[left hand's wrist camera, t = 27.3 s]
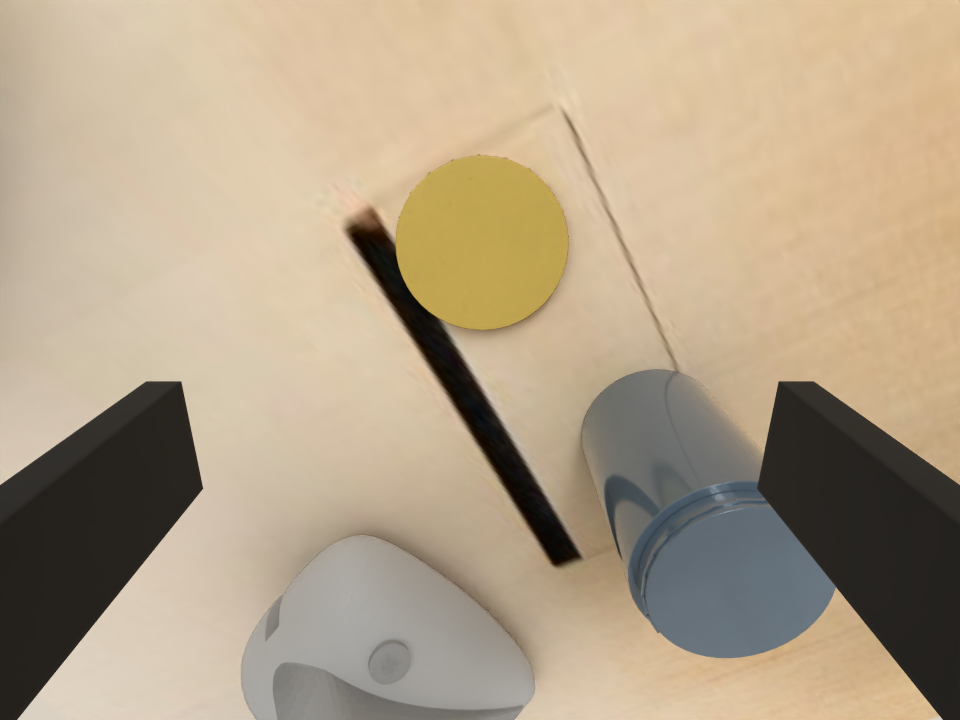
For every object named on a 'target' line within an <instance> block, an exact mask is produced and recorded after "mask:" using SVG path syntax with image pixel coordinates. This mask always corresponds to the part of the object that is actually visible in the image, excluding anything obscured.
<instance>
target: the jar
mask: <svg viewBox="0 0 960 720" xmlns="http://www.w3.org/2000/svg"><path fill="white" fill-rule="evenodd" d="M581 441H582V448H583V452H584V455H585V458H586V461H587V464H588V467H589V470H590V473H591V476H592V479H593V482H594V485H595V488H596V491H597V494H598V497H599V500H600V503H601V506H602V509H603V512H604V515H605V518H606V521H607V524H608V527H609V530H610V533H611V536H612V539H613V542H614V544H615V547H616V550H617V553H618V556H619V559H620V562H621V565H622V568H623V571H624V574H625V577H626V580H627V583H628V586H629V589H630V592H631V595H632V598H633V600H634V602H635V604H636V605H637V607H638V609H639V610H640V611H641V612H642V614H643V615H644V616H645V617H646V618H647V619H648V620H649V621H650V622H651V624H652V625H653V627H654V628H655V630H656V631H657V633H659V632H660V633H661V634H662V635H663V636H664V637H665V638H667V639H668V640H669V641H670V642H672V643H673V644H675V645H676V646H678V647H680V648H682V649H684V650H686V651H689V652H692V653H695V654H698V655H703V656H707V657H715V658H738V657H745V656H751V655H756V654H759V653H763V652H766V651H769V650H772V649H775V648H777V647H779V646H781V645H783V644H785V643H787V642H789V641H791V640H792V639H794V638H796V637H797V636H799V635H800V634H801V633H803V632H804V631H805V630H807V629H808V628H809V627H810V626H811V625H812V624H813V623H814V622H815V621H816V620H817V619H818V618H819V617H820V615H821V614H822V613H823V612H824V610H825V609H826V607H827V606H828V604H829V602H830V600H831V598H832V596H833V593H834V590H835V587H836V586H835V585H834V584H833V583H832V581H831V580H830V579H829V578H828V576H827V575H826V574H825V573H824V571H823V570H822V569H821V568H820V566H819V565H818V564H817V563H816V561H815V560H814V559H813V558H812V556H811V555H810V554H809V553H808V551H807V550H806V549H805V548H804V546H803V545H802V544H801V543H800V542H799V540H798V539H797V538H796V537H795V535H794V534H793V533H792V532H791V530H790V529H789V528H788V527H787V525H786V524H785V523H784V522H783V520H782V519H781V518H780V517H779V515H778V514H777V513H776V512H775V510H774V509H773V508H772V507H771V506H770V504H769V503H768V502H767V501H766V499H765V498H764V497H763V496H762V494H761V493H760V492H759V491H758V489H757V486H758V481H759V476H760V471H761V466H762V461H763V457H764V451H763V450H762V449H761V448H760V447H759V446H758V445H757V444H756V443H755V442H754V441H753V440H752V438H751V437H750V436H749V435H748V434H747V433H746V432H745V431H744V430H743V429H742V428H741V427H740V425H739V424H738V423H737V422H736V421H735V420H734V419H733V418H732V417H731V416H730V415H729V414H728V412H727V411H726V410H725V409H724V408H723V407H722V406H721V405H720V404H719V403H718V402H717V401H716V399H715V398H714V397H713V396H712V395H711V394H710V393H709V392H708V391H707V390H706V389H705V388H704V387H703V386H702V385H701V384H700V383H699V382H697V381H696V380H694V379H692V378H691V377H689V376H686V375H684V374H681V373H678V372H675V371H668V370H646V371H641V372H637V373H634V374H631V375H628V376H626V377H623V378H621V379H619V380H618V381H616V382H614V383H613V384H611V385H610V386H609V387H607V388H606V389H605V390H604V391H603V392H602V393H601V394H600V395H599V396H598V397H597V398H596V399H595V401H594V402H593V403H592V405H591V406H590V408H589V410H588V412H587V414H586V416H585V419H584V422H583V426H582V434H581Z"/></svg>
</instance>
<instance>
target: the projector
mask: <svg viewBox="0 0 960 720" xmlns="http://www.w3.org/2000/svg"><path fill="white" fill-rule="evenodd" d="M241 684H242V691H243V694H244V698H245V701H246V703H247V705H248V707H249V710H250V711H251V713H252V714H253V715H254V717H255V718H256V719H257V720H514V719H515V718H516V717H517V716H518V714H519V713H520V712H521V711H522V709H523V708H524V707H525V706H526V705H527V704H528V702H529V701H530V700H531V698H532V697H533V695H534V692H535V678H534V673H533V669H532V666H531V664H530V662H529V660H528V659H527V657H526V655H525V654H524V653H523V651H522V650H521V649H520V647H519V646H518V645H517V643H516V642H515V641H514V640H513V639H512V638H511V636H510V635H509V634H508V633H507V632H506V631H505V630H504V629H503V627H502V626H501V625H500V624H499V623H498V622H497V621H496V620H495V619H494V618H493V617H492V616H491V615H490V614H489V613H488V612H487V611H486V610H485V609H484V608H482V607H481V606H480V605H479V604H478V603H477V602H476V601H475V600H473V599H472V598H471V597H470V596H469V595H467V594H466V593H465V592H464V591H462V590H461V589H460V588H459V587H457V586H456V585H455V584H453V583H452V582H451V581H449V580H448V579H447V578H445V577H444V576H443V575H441V574H440V573H438V572H437V571H436V570H434V569H433V568H431V567H430V566H428V565H427V564H425V563H424V562H422V561H421V560H419V559H418V558H416V557H415V556H413V555H411V554H410V553H408V552H406V551H404V550H403V549H401V548H399V547H397V546H395V545H393V544H391V543H389V542H387V541H385V540H382V539H380V538H377V537H373V536H369V535H354V536H350V537H346V538H344V539H341V540H339V541H337V542H335V543H333V544H331V545H330V546H328V547H327V548H326V549H324V550H323V551H322V552H321V553H320V554H319V555H317V556H316V557H315V558H314V559H313V560H312V561H311V562H310V563H309V564H308V565H307V566H306V567H305V568H304V569H303V570H302V571H301V572H300V574H299V575H298V576H297V577H296V578H295V579H294V580H293V581H292V583H291V584H290V585H289V586H288V588H287V589H286V591H285V593H284V594H283V595H282V596H281V597H279V598H278V599H277V600H276V601H275V602H274V604H273V605H272V606H271V607H270V608H269V610H268V611H267V612H266V613H265V615H264V616H263V617H262V619H261V620H260V622H259V623H258V624H257V626H256V628H255V629H254V631H253V632H252V634H251V636H250V638H249V641H248V643H247V645H246V648H245V651H244V654H243V658H242V663H241Z"/></svg>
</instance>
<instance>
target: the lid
mask: <svg viewBox="0 0 960 720" xmlns="http://www.w3.org/2000/svg"><path fill="white" fill-rule="evenodd" d="M568 238H569V236H568V231H567V225H566V221H565V217H564V214H563V210H562V209H561V206H560V204H559V203H558V201H557V199H556V197H555V195H554V194H553V193H552V191H551V190H550V187H549V186H547V185H546V184H545V183H544V182H543V181H542V180H541V179H540V178H539V177H538V176H536V175H535V174H534V173H533V172H531V169H529V168H528V169H527V168H525V167H523V166H521V165H520V164H517V163H515V162H513V161H510V160H508V159H506V157H504V158H500V157H494V156H480V154H478V156H470V157H464V158H460V159H457V160H454V159H452V160H451V162H449V163H447V164H445V165H443V166H441V167H439V168H438V169H436V170H435V171H433V172H432V173H431V172H429V173H428V176H427V177H425V178H424V179H423V180H422V181H421V182H420V183H419V184H418V185H417V187H416V188H415V189H414V190H413V191H412V192H410V196H409V198H408V199H407V201H406V203H405V205H404V207H403V209H402V212H401V215H400V216H399V221H398V226H397V231H396V242H395V244H396V255H397V260H398V265H399V269H400V271H401V274H402V277H403V279H404V281H405V283H406V285H407V287H408V289H409V290H410V291H411V293H412V294H413V296H414V297H415V298H416V299H417V301H418V302H419V303H420V304H421V305H422V306H423V307H424V308H425V309H427V310H428V311H429V312H430V313H432V314H433V315H435V316H436V317H438V318H439V319H441V320H443V321H445V322H447V323H450V324H452V325H455V326H458V327H462V328H467V329H475V330H490V329H497V328H502V327H505V326H509V325H512V324H514V323H516V322H519V321H521V320H523V319H524V318H526V317H528V316H530V315H531V314H532V313H534V312H535V311H536V310H537V309H539V308H540V307H541V306H542V305H543V304H544V303H545V302H546V301H547V299H548V298H549V297H550V296H551V294H552V293H553V292H554V290H555V288H556V287H557V285H558V283H559V281H560V279H561V277H562V274H563V272H564V268H565V265H566V261H567V255H568Z"/></svg>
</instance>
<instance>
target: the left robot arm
mask: <svg viewBox="0 0 960 720" xmlns="http://www.w3.org/2000/svg"><path fill="white" fill-rule="evenodd" d="M202 489H203V486H202V481H201V476H200V471H199V466H198V461H197V457H196V452H195V447H194V442H193V437H192V432H191V427H190V422H189V417H188V413H187V408H186V403H185V398H184V393H183V388H182V383H181V382H145V383H143V384H142V385H141V386H139V387H138V388H136V389H135V390H134V391H132V392H131V393H129V394H128V395H127V396H125V397H124V398H122V399H121V400H120V401H118V402H117V403H115V404H114V405H112V406H111V407H110V408H108V409H107V410H105V411H104V412H103V413H101V414H100V415H98V416H97V417H96V418H94V419H93V420H91V421H90V422H89V423H87V424H86V425H84V426H83V427H81V428H80V429H79V430H77V431H76V432H74V433H73V434H72V435H70V436H69V437H67V438H66V439H65V440H63V441H62V442H60V443H59V444H58V445H56V446H55V447H53V448H52V449H51V450H49V451H48V452H46V453H45V454H43V455H42V456H41V457H39V458H38V459H36V460H35V461H34V462H32V463H31V464H29V465H28V466H27V467H25V468H24V469H22V470H21V471H20V472H18V473H17V474H15V475H14V476H12V477H11V478H10V479H8V480H7V481H5V482H4V483H3V484H1V485H0V720H17V719H18V718H19V717H20V715H21V714H22V713H23V712H24V710H25V709H26V708H27V707H28V705H29V704H30V703H31V702H32V701H33V699H34V698H35V697H36V696H37V694H38V693H39V692H40V691H41V689H42V688H43V687H44V686H45V684H46V683H47V682H48V681H49V679H50V678H51V677H52V676H53V674H54V673H55V672H56V671H57V669H58V668H59V667H60V666H61V665H62V663H63V662H64V661H65V660H66V658H67V657H68V656H69V655H70V653H71V652H72V651H73V650H74V648H75V647H76V646H77V645H78V643H79V642H80V641H81V640H82V638H83V637H84V636H85V635H86V633H87V632H88V631H89V630H90V628H91V627H92V626H93V625H94V624H95V622H96V621H97V620H98V619H99V617H100V616H101V615H102V614H103V612H104V611H105V610H106V609H107V607H108V606H109V605H110V604H111V602H112V601H113V600H114V599H115V597H116V596H117V595H118V594H119V592H120V591H121V590H122V589H123V587H124V586H125V585H126V584H127V583H128V581H129V580H130V579H131V578H132V576H133V575H134V574H135V573H136V571H137V570H138V569H139V568H140V566H141V565H142V564H143V563H144V561H145V560H146V559H147V558H148V556H149V555H150V554H151V553H152V551H153V550H154V549H155V548H156V546H157V545H158V544H159V543H160V542H161V540H162V539H163V538H164V537H165V535H166V534H167V533H168V532H169V530H170V529H171V528H172V527H173V525H174V524H175V523H176V522H177V520H178V519H179V518H180V517H181V515H182V514H183V513H184V512H185V510H186V509H187V508H188V507H189V506H190V504H191V503H192V502H193V501H194V499H195V498H196V497H197V496H198V494H199V493H200V492H201V491H202ZM757 489H758V491H759V492H760V493H761V494H762V496H763V497H764V498H765V499H766V501H767V502H768V503H769V504H770V506H771V507H772V508H773V509H774V510H775V512H776V513H777V514H778V515H779V517H780V518H781V519H782V520H783V522H784V523H785V524H786V525H787V527H788V528H789V529H790V530H791V532H792V533H793V534H794V535H795V537H796V538H797V539H798V540H799V542H800V543H801V544H802V545H803V546H804V548H805V549H806V550H807V551H808V553H809V554H810V555H811V556H812V558H813V559H814V560H815V561H816V563H817V564H818V565H819V566H820V568H821V569H822V570H823V571H824V573H825V574H826V575H827V576H828V578H829V579H830V580H831V581H832V583H833V584H834V585H835V586H836V587H837V589H838V590H839V591H840V592H841V594H842V595H843V596H844V597H845V599H846V600H847V601H848V602H849V604H850V605H851V606H852V607H853V609H854V610H855V611H856V612H857V614H858V615H859V616H860V617H861V619H862V620H863V621H864V622H865V624H866V625H867V626H868V627H869V628H870V630H871V631H872V632H873V633H874V635H875V636H876V637H877V638H878V640H879V641H880V642H881V643H882V645H883V646H884V647H885V648H886V650H887V651H888V652H889V653H890V655H891V656H892V657H893V658H894V660H895V661H896V662H897V663H898V665H899V666H900V667H901V668H902V669H903V671H904V672H905V673H906V674H907V676H908V677H909V678H910V679H911V681H912V682H913V683H914V684H915V686H916V687H917V688H918V689H919V691H920V692H921V693H922V694H923V696H924V697H925V698H926V699H927V701H928V702H929V703H930V704H931V705H932V707H933V708H934V709H935V710H936V712H937V713H938V714H939V715H940V717H941V718H942V719H943V720H960V485H959V484H957V483H956V482H955V481H953V480H952V479H950V478H949V477H948V476H946V475H945V474H943V473H942V472H940V471H939V470H938V469H936V468H935V467H933V466H932V465H931V464H929V463H928V462H926V461H925V460H924V459H922V458H921V457H919V456H918V455H917V454H915V453H914V452H912V451H911V450H909V449H908V448H907V447H905V446H904V445H902V444H901V443H900V442H898V441H897V440H895V439H894V438H893V437H891V436H890V435H888V434H887V433H886V432H884V431H883V430H881V429H880V428H878V427H877V426H876V425H874V424H873V423H871V422H870V421H869V420H867V419H866V418H864V417H863V416H862V415H860V414H859V413H857V412H856V411H855V410H853V409H852V408H850V407H849V406H848V405H846V404H845V403H843V402H842V401H840V400H839V399H838V398H836V397H835V396H833V395H832V394H831V393H829V392H828V391H826V390H825V389H824V388H822V387H821V386H819V385H818V384H817V383H815V382H779V383H778V388H777V393H776V398H775V403H774V408H773V413H772V417H771V422H770V427H769V432H768V437H767V442H766V447H765V452H764V457H763V461H762V466H761V471H760V476H759V481H758V486H757Z"/></svg>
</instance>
